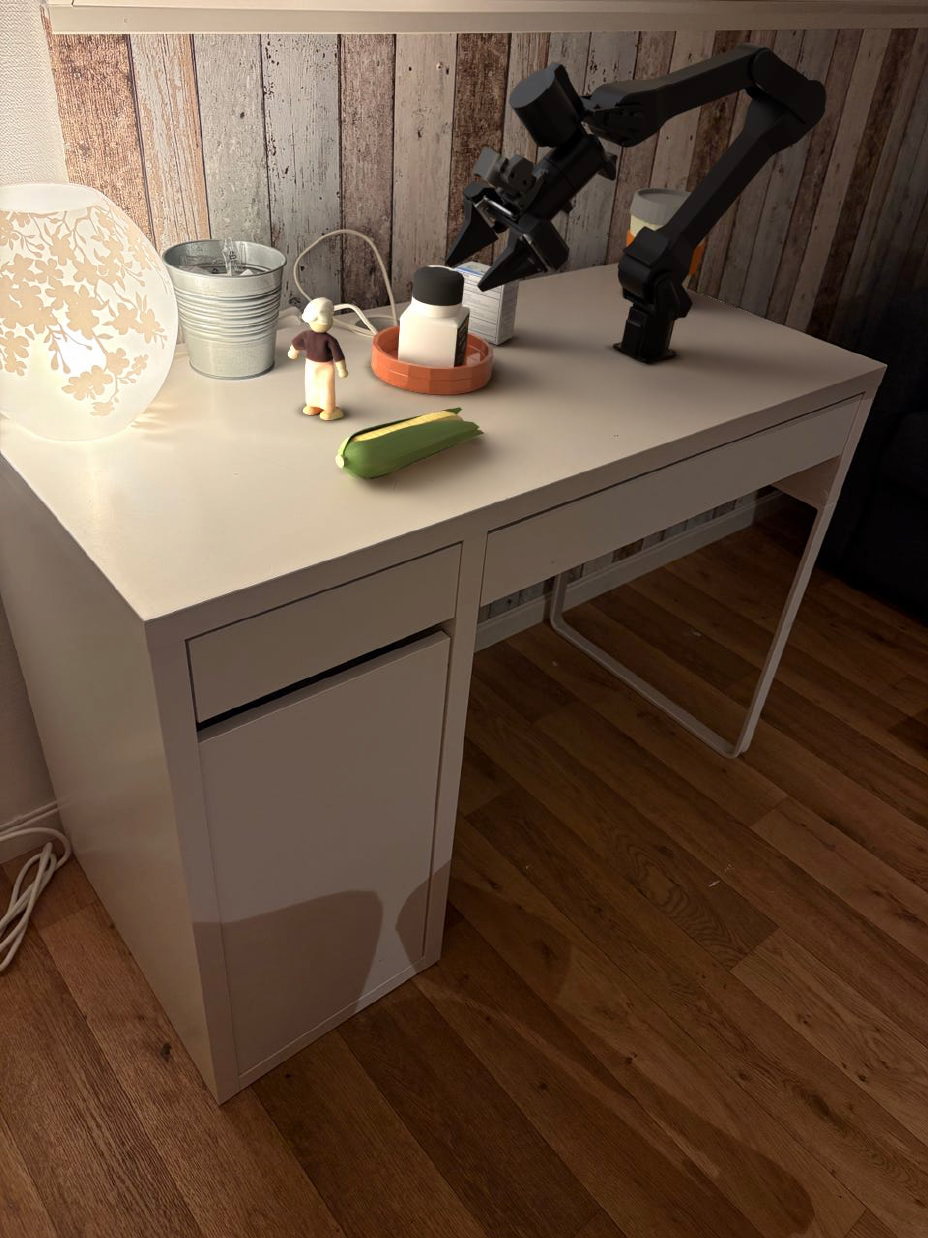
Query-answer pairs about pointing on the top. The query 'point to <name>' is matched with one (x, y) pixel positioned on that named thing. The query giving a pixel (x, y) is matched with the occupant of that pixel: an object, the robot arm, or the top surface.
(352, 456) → the edible corn
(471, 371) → the plant saucer
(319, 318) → the grandmother figurine
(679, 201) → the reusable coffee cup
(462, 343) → the medicine bottle
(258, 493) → the top surface
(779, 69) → the robot arm
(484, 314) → the medicine box
